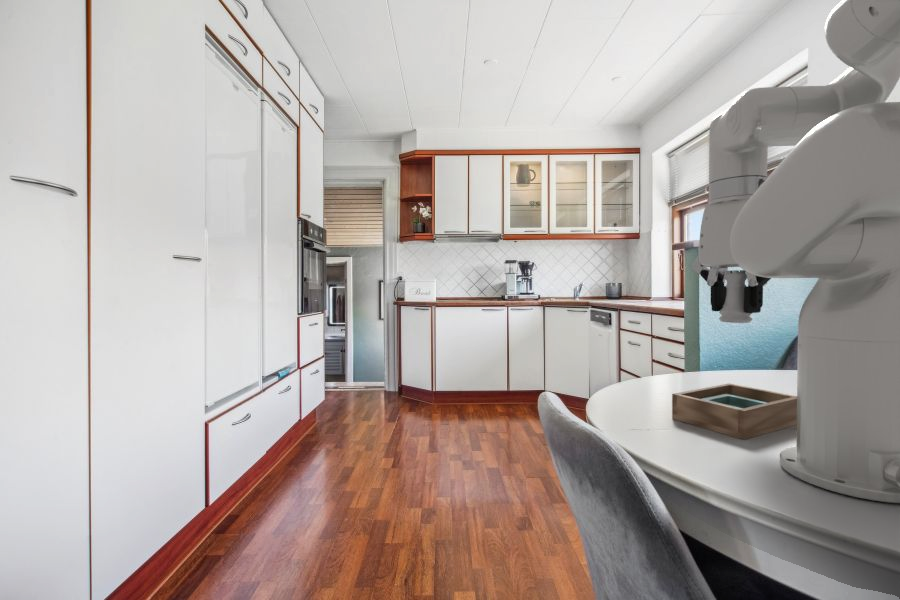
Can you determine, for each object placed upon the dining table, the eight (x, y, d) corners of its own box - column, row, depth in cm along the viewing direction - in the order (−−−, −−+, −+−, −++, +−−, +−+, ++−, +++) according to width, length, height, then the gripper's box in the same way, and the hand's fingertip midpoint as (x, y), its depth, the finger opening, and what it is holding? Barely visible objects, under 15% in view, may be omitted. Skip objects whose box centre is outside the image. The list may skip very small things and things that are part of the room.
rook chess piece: (742, 320, 71) (743, 270, 70) (759, 322, 66) (760, 269, 66) (713, 320, 71) (713, 271, 71) (727, 323, 67) (728, 270, 66)
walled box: (801, 423, 67) (802, 397, 67) (743, 439, 61) (744, 411, 60) (729, 405, 77) (729, 383, 77) (672, 418, 70) (672, 393, 70)
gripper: (814, 184, 62) (811, 313, 63) (700, 204, 77) (699, 308, 78) (785, 179, 59) (782, 316, 59) (671, 201, 74) (671, 310, 74)
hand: (735, 310), depth 69 cm, fingers closed on rook chess piece, 4 cm apart
